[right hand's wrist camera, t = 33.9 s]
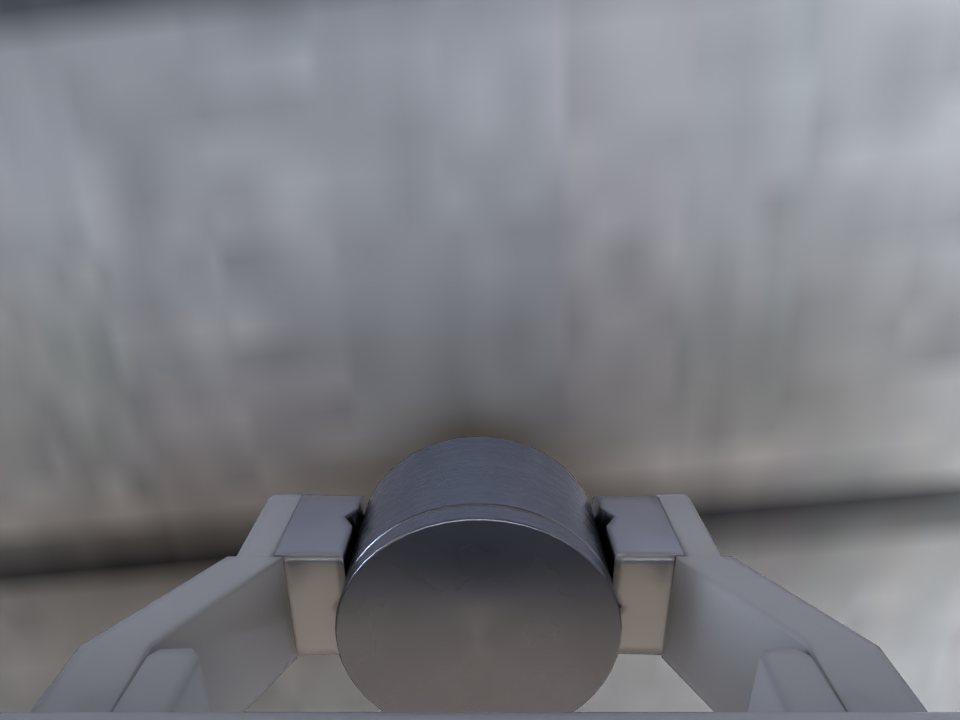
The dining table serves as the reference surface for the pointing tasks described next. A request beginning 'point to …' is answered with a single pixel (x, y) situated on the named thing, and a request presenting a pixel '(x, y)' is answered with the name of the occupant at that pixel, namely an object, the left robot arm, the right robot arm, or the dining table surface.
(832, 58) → the dining table surface
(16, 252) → the dining table surface
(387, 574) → the cap
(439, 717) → the right robot arm
